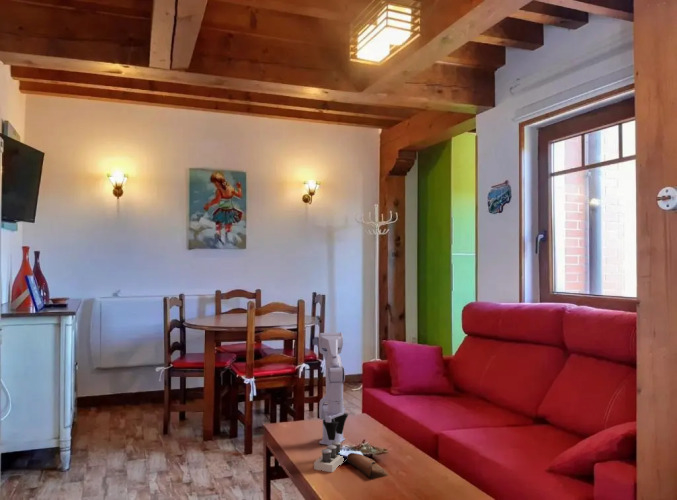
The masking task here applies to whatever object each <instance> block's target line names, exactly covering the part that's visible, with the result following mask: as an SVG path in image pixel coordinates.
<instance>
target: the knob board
mask: <svg viewBox="0 0 677 500" xmlns="http://www.w3.org/2000/svg"><path fill="white" fill-rule="evenodd" d="M343 461H344V458H343V456H340V455H336V457H335V458H331V461H330V462H323V461H322V455H321V456H320V457H319V458H318V459H316V460H315V461H314V462H313V470H315V471H321V470H322V472H326V473H327V472H328V473H334V471H336V468H337V467H338V466H339V465H340V466H341V465H342V464H343V463H344V462H345V461H344V462H343ZM340 466H339V467H340ZM339 467H338V468H339ZM338 468H337V469H338Z"/></svg>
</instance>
